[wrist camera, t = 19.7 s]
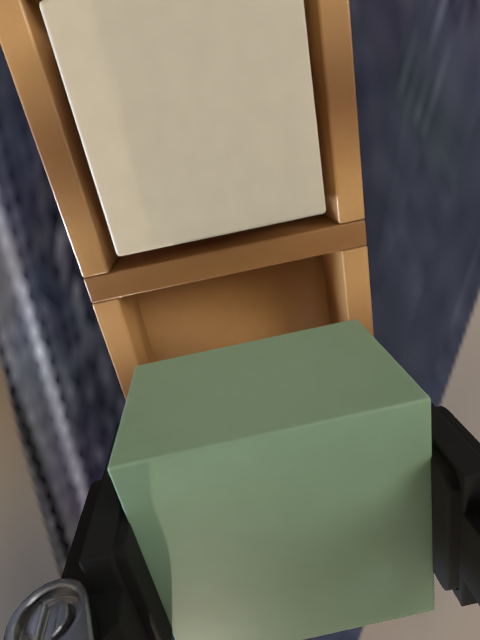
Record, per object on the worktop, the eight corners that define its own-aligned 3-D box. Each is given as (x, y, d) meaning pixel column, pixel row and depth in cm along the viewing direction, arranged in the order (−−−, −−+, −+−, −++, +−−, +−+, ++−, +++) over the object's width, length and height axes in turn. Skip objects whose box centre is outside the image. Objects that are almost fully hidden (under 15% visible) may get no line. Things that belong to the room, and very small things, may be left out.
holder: (20, -3, 12) (-33, -48, 9) (307, -61, 12) (341, -122, 9) (164, 440, 18) (158, 494, 16) (353, 399, 19) (382, 445, 16)
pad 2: (135, 365, 10) (105, 469, 7) (356, 317, 10) (432, 398, 7) (188, 528, 12) (185, 667, 9) (372, 487, 12) (435, 611, 9)
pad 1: (80, 39, 12) (36, 0, 9) (270, 0, 12) (298, -53, 9) (135, 231, 14) (117, 257, 11) (296, 197, 14) (327, 213, 11)
